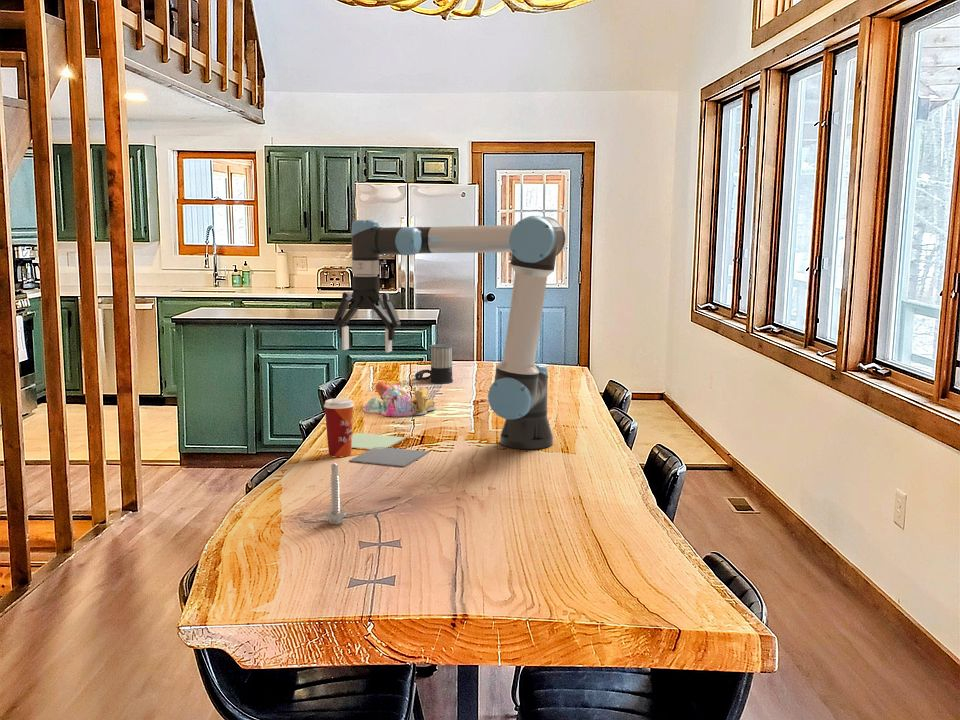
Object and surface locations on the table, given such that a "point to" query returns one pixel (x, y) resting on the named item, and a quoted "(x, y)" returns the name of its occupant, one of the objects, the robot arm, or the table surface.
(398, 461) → the pad grey
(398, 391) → the pastel sphere sculpture
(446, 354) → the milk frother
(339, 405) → the coffee cup
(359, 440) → the pad green
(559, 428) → the table surface
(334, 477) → the screw
